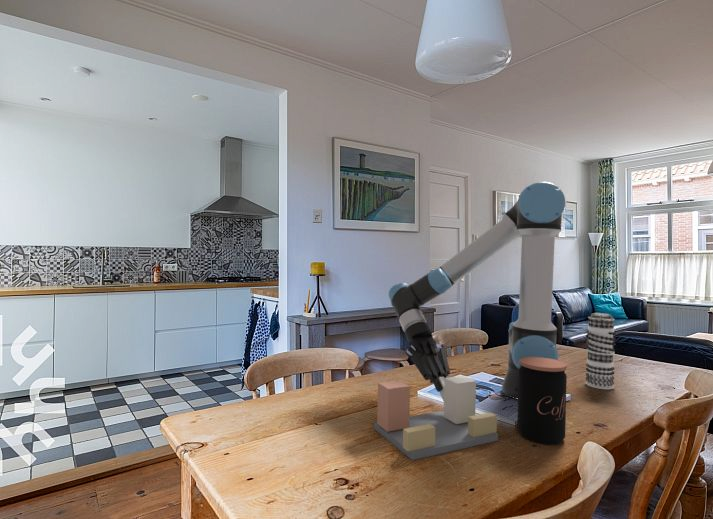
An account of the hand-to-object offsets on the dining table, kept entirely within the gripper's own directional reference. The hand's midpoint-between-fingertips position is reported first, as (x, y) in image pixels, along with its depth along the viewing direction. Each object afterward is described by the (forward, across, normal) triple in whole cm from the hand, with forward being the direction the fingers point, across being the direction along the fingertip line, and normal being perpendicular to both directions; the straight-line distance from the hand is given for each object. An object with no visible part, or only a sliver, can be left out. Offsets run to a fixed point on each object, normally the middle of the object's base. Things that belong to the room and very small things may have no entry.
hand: (449, 401), depth 105 cm
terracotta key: (+3, +18, -1) cm, 18 cm away
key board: (+7, +9, 0) cm, 12 cm away
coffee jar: (+15, -15, +8) cm, 23 cm away
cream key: (+5, 0, 0) cm, 5 cm away
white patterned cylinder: (0, -69, -7) cm, 70 cm away
